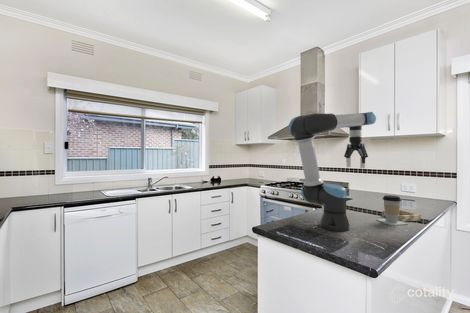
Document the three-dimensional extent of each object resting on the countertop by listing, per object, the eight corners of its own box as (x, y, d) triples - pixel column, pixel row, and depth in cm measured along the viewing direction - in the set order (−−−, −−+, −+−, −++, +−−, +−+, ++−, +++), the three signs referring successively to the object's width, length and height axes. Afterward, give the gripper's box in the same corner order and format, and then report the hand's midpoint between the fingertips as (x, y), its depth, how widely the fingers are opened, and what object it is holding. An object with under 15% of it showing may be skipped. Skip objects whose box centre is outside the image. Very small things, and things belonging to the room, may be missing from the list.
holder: (401, 221, 143) (401, 216, 143) (382, 215, 157) (382, 210, 157) (420, 220, 146) (420, 214, 146) (400, 214, 160) (400, 209, 160)
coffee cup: (395, 219, 146) (395, 195, 146) (404, 223, 137) (405, 198, 137) (379, 218, 147) (379, 194, 147) (387, 223, 138) (387, 197, 138)
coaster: (392, 225, 136) (392, 224, 136) (376, 220, 146) (376, 219, 146) (407, 224, 138) (407, 223, 138) (391, 219, 149) (391, 218, 149)
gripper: (374, 135, 150) (374, 168, 150) (348, 138, 175) (347, 166, 175) (364, 135, 149) (363, 168, 149) (339, 137, 173) (338, 166, 173)
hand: (355, 167), depth 162 cm, fingers open, 13 cm apart
